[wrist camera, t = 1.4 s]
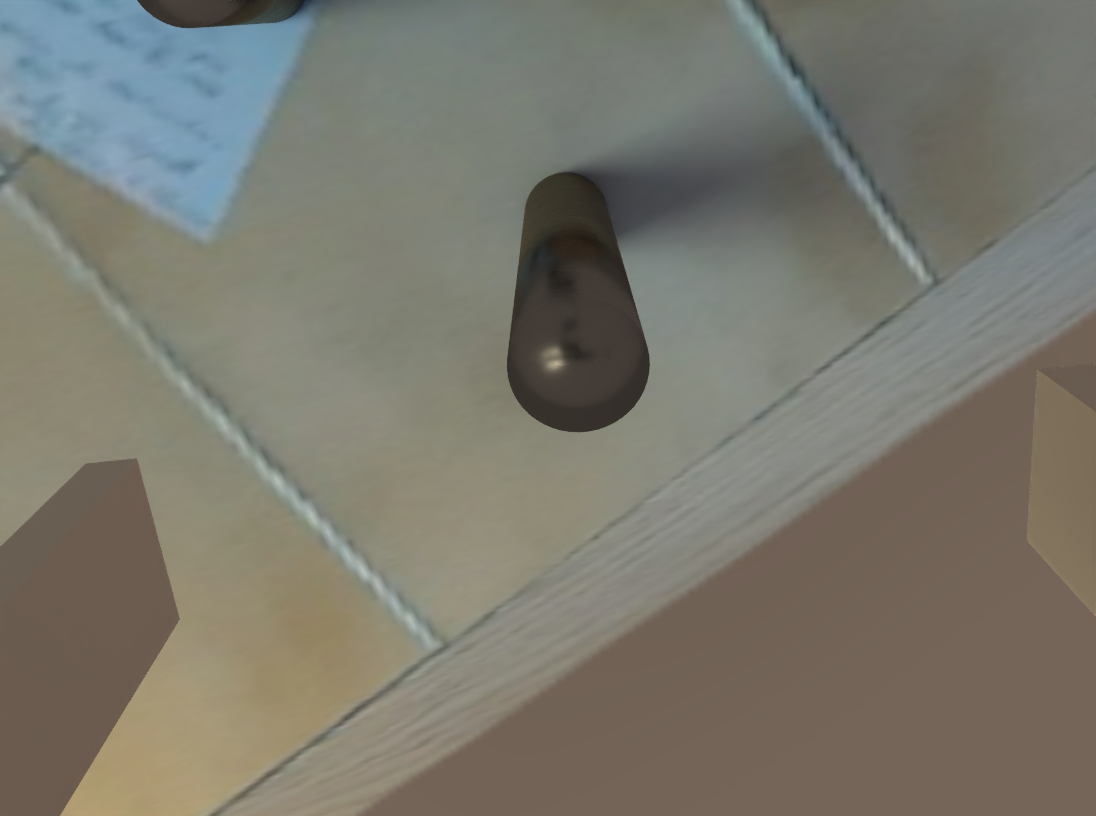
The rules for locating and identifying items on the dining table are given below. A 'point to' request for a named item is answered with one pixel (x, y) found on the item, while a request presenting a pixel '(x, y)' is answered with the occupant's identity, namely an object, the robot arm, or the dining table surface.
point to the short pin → (220, 11)
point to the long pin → (574, 312)
